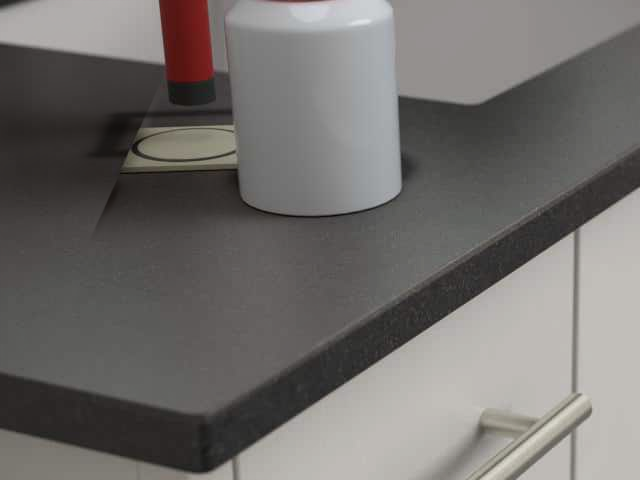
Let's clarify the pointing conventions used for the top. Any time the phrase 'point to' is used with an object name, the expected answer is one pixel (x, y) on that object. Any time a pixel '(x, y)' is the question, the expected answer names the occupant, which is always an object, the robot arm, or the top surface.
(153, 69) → the top surface
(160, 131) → the coaster
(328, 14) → the pill bottle
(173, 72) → the marker
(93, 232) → the top surface
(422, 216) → the top surface
